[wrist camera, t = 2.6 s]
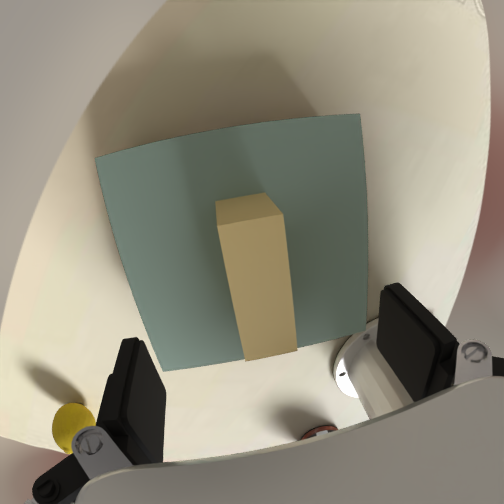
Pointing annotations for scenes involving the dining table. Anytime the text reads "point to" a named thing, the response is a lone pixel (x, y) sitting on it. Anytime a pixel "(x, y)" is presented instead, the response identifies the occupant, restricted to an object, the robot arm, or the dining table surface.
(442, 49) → the dining table surface
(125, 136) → the dining table surface
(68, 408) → the lemon
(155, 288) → the lid
